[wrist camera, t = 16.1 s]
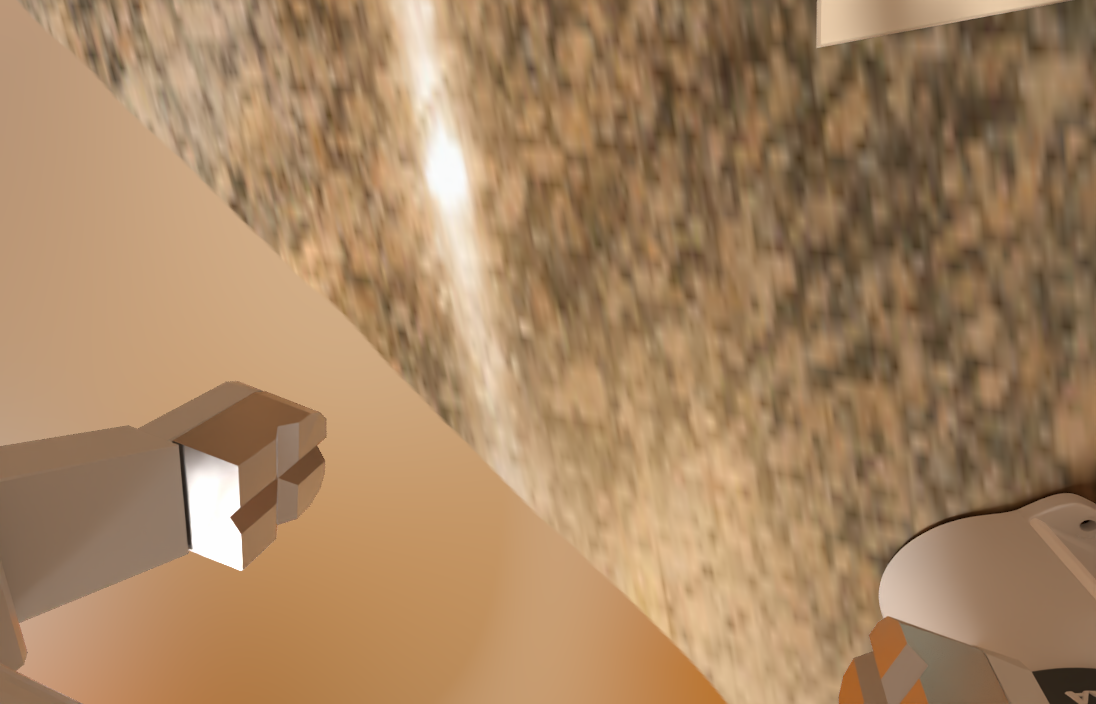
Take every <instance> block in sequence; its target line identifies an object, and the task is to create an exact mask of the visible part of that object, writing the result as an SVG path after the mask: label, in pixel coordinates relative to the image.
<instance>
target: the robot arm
mask: <svg viewBox="0 0 1096 704" xmlns="http://www.w3.org/2000/svg"><path fill="white" fill-rule="evenodd" d="M325 438H326V418H325V417H324V416H323V415H322V414H321V413H320V412H318V411H315V410H313V409H310V408H307V407H305V406H302V405H300V404H297V403H294V402H292V401H289V400H287V399H284V398H281V397H279V396H276V395H274V394H271V393H268V392H264V391H262V390H259V389H257V388H254V387H251V386H249V385H246V384H243V383H241V382H238V381H237V382H225V383H223V384H221V385H219V386H217V387H216V388H214V389H212V390H210V391H208V392H206V393H204V394H202V395H201V396H199V397H197V398H195V399H193V400H191V401H189V402H187V403H185V404H183V405H182V406H180V407H178V408H176V409H174V410H172V411H170V412H168V413H166V414H165V415H163V416H161V417H159V418H157V419H155V420H154V421H151V422H149V423H148V424H146V425H144V426H142V427H140V428H138V429H136V428H133V427H131V426H122V427H116V428H110V429H103V430H97V431H91V432H86V433H79V434H73V435H66V436H60V437H54V438H49V439H42V440H36V441H30V442H23V443H17V444H11V445H5V446H0V704H82V703H80V702H78V701H76V700H74V699H72V698H70V697H68V696H66V695H64V694H62V693H59V692H58V691H55V690H53V689H51V688H49V687H47V686H45V685H43V684H41V683H39V682H37V681H35V680H33V679H31V678H29V677H27V676H25V675H23V674H21V673H18V672H17V671H16V670H18V669H19V668H20V667H21V666H23V665H24V663H25V660H26V656H27V653H28V652H27V649H26V645H25V642H24V638H23V635H22V632H21V628H20V625H19V623H20V622H23V621H25V620H28V619H30V618H33V617H35V616H38V615H40V614H42V613H45V612H47V611H50V610H52V609H55V608H57V607H60V606H62V605H64V604H67V603H69V602H72V601H74V600H76V599H79V598H81V597H84V596H86V595H89V594H91V593H94V592H96V591H99V590H101V589H103V588H106V587H108V586H111V585H113V584H116V583H118V582H121V581H123V580H125V579H128V578H130V577H133V576H135V575H138V574H140V573H142V572H145V571H147V570H150V569H152V568H155V567H157V566H160V565H162V564H164V563H167V562H169V561H172V560H174V559H176V558H179V557H182V556H184V555H186V554H188V553H189V551H188V550H190V551H192V552H195V553H198V554H200V555H203V556H206V557H208V558H210V559H213V560H216V561H219V562H221V563H223V564H226V565H229V566H231V567H234V568H237V569H239V570H243V569H244V568H245V567H247V566H248V565H249V564H250V563H251V562H252V561H253V560H254V559H255V558H256V557H257V556H258V555H259V554H260V553H261V552H262V551H264V550H265V549H266V548H267V547H268V546H269V545H270V544H271V543H272V542H273V541H274V540H275V539H276V535H277V525H279V524H282V523H285V522H288V521H291V520H295V519H297V518H298V517H299V516H300V515H301V514H302V513H303V512H304V511H305V510H306V509H307V508H308V507H309V506H310V505H311V503H312V502H313V500H314V498H315V497H316V495H317V493H318V492H319V490H320V488H321V484H322V481H323V478H324V473H325V460H324V458H323V456H322V454H321V452H320V450H319V448H318V447H317V445H318V444H320V442H322V441H323V440H324V439H325ZM1086 520H1090V521H1089V522H1087V523H1085V524H1081V523H1082V522H1083V521H1086ZM879 604H880V609H881V612H882V615H883V618H884V619H882V620H880V621H879V622H878V623H877V624H876V626H875V627H874V628H873V630H872V631H871V633H870V634H869V638H870V642H871V645H872V649H873V652H870V653H867V654H864V655H861V656H858V657H855V658H853V660H852V662H851V663H850V665H849V667H848V668H847V670H846V672H845V674H844V675H843V679H842V683H841V688H840V692H839V697H838V698H839V704H1096V503H1094V502H1092V501H1090V500H1088V499H1086V498H1083V497H1081V496H1079V495H1076V494H1072V493H1061V494H1056V495H1052V496H1049V497H1046V498H1043V499H1041V500H1038V501H1036V502H1033V503H1031V504H1029V505H1026V506H1024V507H1022V508H1020V509H1018V510H1014V511H1010V512H1005V513H998V514H990V515H981V516H974V517H968V518H964V519H959V520H956V521H952V522H949V523H946V524H943V525H940V526H938V527H935V528H933V529H931V530H929V531H927V532H925V533H923V534H921V535H920V536H918V537H916V538H915V539H913V540H912V541H910V542H909V543H908V544H907V545H905V546H904V547H903V548H902V549H901V550H900V551H899V552H898V553H897V554H896V555H895V556H894V557H893V559H892V560H891V561H890V563H889V564H888V566H887V568H886V570H885V572H884V574H883V576H882V579H881V583H880V588H879Z"/></svg>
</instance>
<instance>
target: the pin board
mask: <svg viewBox="0 0 1096 704" xmlns="http://www.w3.org/2000/svg"><path fill="white" fill-rule="evenodd" d="M1066 1H1072V0H817V47H816V48H819V47H824V46H830V45H835V44H841V43H846V42H851V41H857V40H862V39H867V38H873V37H878V36H884V35H889V34H894V33H900V32H905V31H910V30H916V29H921V28H926V27H932V26H937V25H943V24H948V23H953V22H959V21H964V20H969V19H975V18H980V17H986V16H991V15H996V14H1002V13H1007V12H1012V11H1018V10H1023V9H1029V8H1034V7H1039V6H1045V5H1050V4H1055V3H1061V2H1066Z"/></svg>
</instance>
